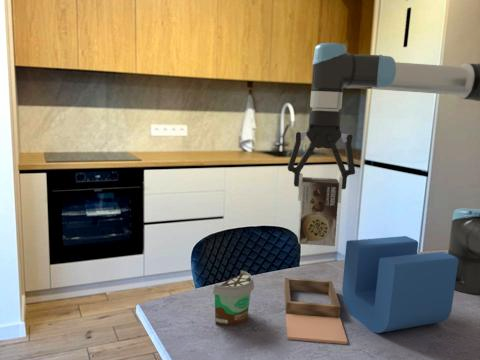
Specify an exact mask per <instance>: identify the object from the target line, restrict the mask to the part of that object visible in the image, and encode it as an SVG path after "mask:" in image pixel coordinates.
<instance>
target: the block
mask: <svg viewBox="0 0 480 360" xmlns="http://www.w3.org/2000/svg"><path fill="white" fill-rule="evenodd" d="M418 249H419V242H418V240H416V239H414V238H411V237H409V236H407V235H402V236H391V237H390V236H388V237H379V238H366V239H351V240H347V241H346V244H345V253H344V254H345V255H344V266H343V276H342V277H343V278H342V299H343V302H344V305H345V308H346V309H347V311H348V314H350V315H351V316H352V317H353V318H354V319H355V320H356V321H358V322H359V323H360V324H362V325H363V326H364V327H366V328H367V329H368V330H370V331H371V332H373V333H376V334H381V333H385V332H392V331H397V330H402V329H409V328H415V327H421V326H427V325H432V324H437V323H442V322H444V321H446V320H447V319H448V318H449V317H450V316H451V313H452V309H453V303H454V302H453V301H454V295H455V289H454V288H455V281H456V274H457V266H458V258H457V257H455V256H452V255H450V254H448V252H445V251H436V252H429V253H428V252H426V253H418Z"/></svg>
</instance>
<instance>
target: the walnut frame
mask: <svg viewBox="0 0 480 360" xmlns="http://www.w3.org/2000/svg"><path fill="white" fill-rule="evenodd" d="M283 290H284V305H285V307H284V308H285V315H286V314H295V315H308V316H321V317H334V318H340V319H341V317H340V316H341V304H340V302H339V298H338V295H337V292H336V289H335V285H334V282H333V280H319V279H306V278H304V279H303V278H292V277H284V283H283ZM291 291H301V292H315V293H327V294H328V297H329V300H330V303H329V304H328V303H318V302H307V301H306V302H303V301H291Z"/></svg>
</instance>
